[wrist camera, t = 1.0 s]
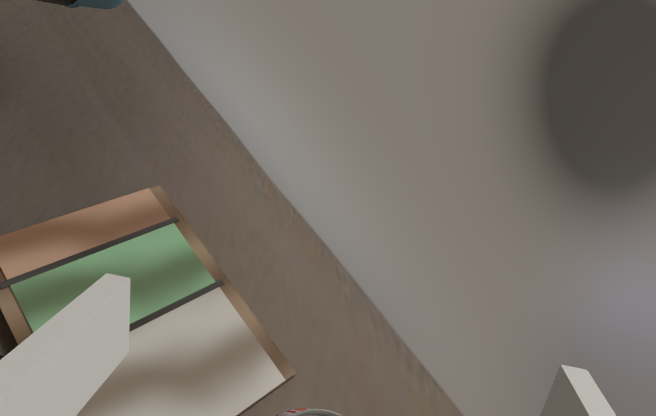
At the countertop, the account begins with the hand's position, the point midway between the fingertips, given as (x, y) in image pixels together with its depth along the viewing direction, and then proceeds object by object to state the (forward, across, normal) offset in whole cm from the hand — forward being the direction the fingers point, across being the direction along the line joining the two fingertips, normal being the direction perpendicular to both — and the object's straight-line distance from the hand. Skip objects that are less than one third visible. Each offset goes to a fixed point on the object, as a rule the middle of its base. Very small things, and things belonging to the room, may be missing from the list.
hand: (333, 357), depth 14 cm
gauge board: (+16, -14, -12) cm, 24 cm away
